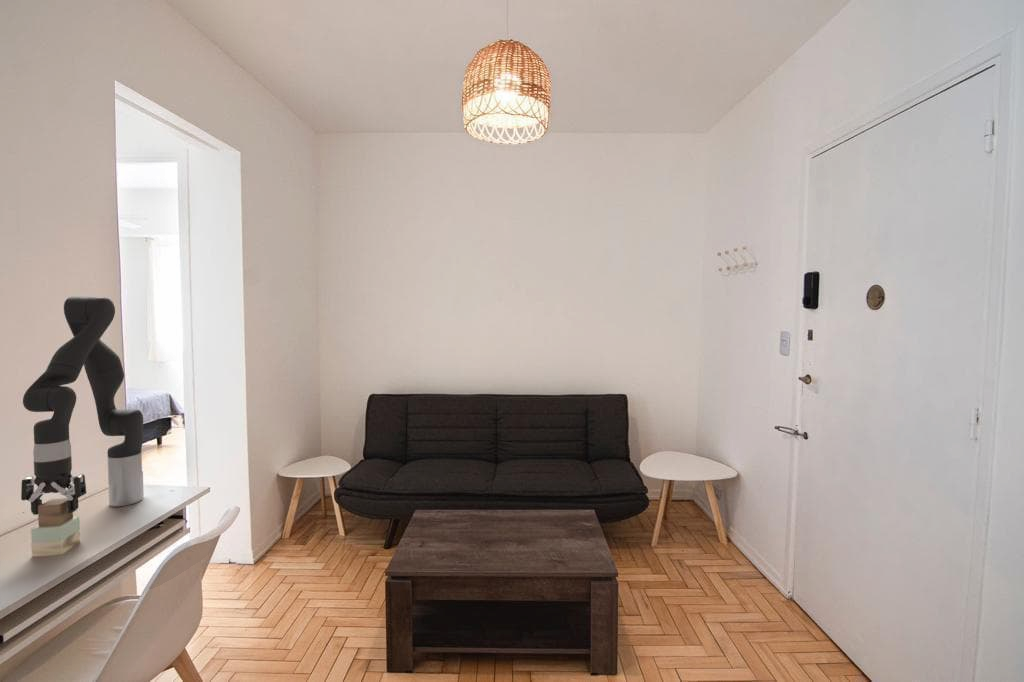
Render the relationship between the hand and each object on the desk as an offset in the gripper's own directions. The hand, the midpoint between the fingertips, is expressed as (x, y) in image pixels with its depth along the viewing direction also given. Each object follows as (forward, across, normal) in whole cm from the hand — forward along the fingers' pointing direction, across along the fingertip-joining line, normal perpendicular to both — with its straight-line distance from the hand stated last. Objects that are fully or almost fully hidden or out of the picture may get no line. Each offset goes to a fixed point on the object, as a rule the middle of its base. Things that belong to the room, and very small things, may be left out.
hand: (55, 512), depth 130 cm
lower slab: (+11, 0, 0) cm, 11 cm away
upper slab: (+7, 0, 0) cm, 7 cm away
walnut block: (+3, 0, 0) cm, 3 cm away
